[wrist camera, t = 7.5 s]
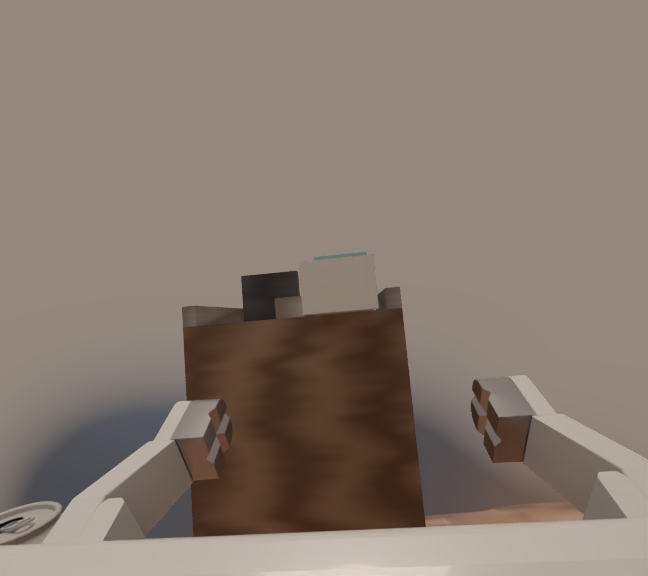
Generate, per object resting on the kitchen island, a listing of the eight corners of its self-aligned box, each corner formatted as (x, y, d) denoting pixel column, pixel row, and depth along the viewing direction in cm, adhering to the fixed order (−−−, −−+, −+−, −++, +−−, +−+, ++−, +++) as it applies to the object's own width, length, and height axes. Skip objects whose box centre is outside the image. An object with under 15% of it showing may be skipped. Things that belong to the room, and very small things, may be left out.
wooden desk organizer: (413, 573, 33) (380, 263, 36) (446, 718, 21) (394, 238, 24) (254, 577, 34) (235, 278, 37) (202, 716, 23) (179, 260, 25)
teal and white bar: (366, 312, 35) (362, 269, 36) (384, 307, 15) (374, 211, 16) (328, 315, 35) (325, 273, 36) (297, 315, 16) (289, 220, 16)
